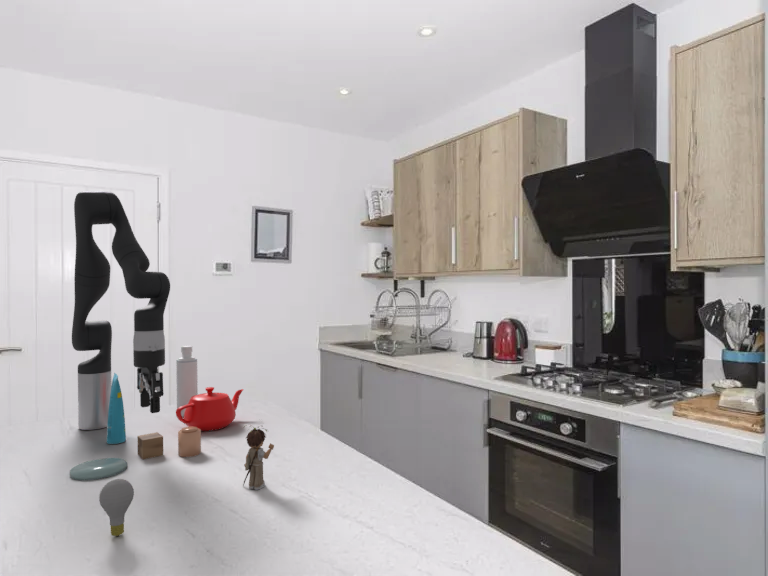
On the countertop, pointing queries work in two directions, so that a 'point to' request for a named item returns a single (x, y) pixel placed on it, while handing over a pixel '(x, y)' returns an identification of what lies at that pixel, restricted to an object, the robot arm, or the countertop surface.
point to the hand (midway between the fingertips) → (150, 409)
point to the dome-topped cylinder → (189, 442)
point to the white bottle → (186, 377)
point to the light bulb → (116, 503)
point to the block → (150, 445)
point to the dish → (98, 469)
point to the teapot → (209, 410)
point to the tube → (116, 415)
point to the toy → (256, 458)
